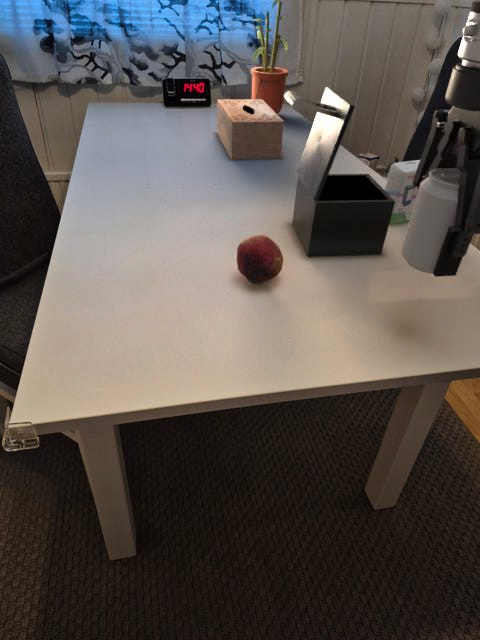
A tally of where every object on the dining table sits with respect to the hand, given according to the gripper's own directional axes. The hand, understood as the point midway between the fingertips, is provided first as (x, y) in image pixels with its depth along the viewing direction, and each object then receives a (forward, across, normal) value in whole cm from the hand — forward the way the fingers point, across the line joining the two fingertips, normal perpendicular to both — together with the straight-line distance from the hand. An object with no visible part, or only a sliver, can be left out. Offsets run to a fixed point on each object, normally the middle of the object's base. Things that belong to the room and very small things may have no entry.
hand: (429, 257), depth 60 cm
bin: (+13, -29, -2) cm, 32 cm away
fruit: (+13, -15, -20) cm, 28 cm away
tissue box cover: (+13, -90, -12) cm, 92 cm away
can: (+1, 0, 0) cm, 1 cm away
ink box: (+13, -38, +15) cm, 43 cm away
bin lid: (-6, -29, -7) cm, 31 cm away
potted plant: (+13, -126, -2) cm, 127 cm away
